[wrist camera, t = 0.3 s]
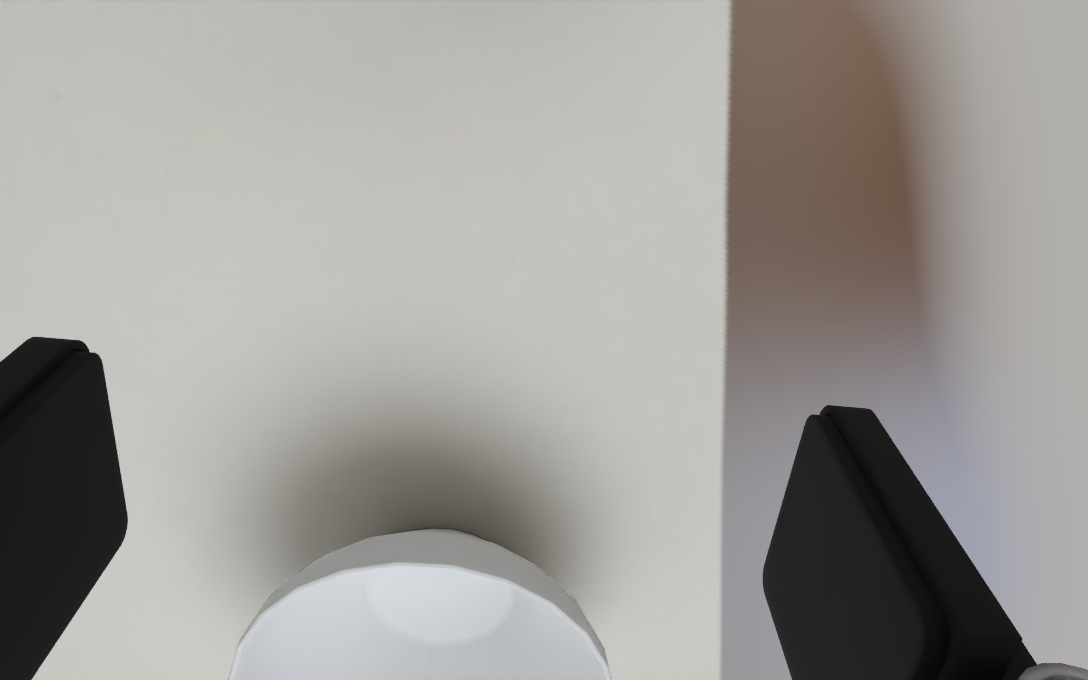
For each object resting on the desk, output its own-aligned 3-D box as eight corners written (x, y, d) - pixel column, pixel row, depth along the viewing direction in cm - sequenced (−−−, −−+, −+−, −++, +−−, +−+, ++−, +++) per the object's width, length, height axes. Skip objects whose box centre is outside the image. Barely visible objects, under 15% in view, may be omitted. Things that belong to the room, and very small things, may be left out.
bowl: (266, 676, 43) (220, 804, 37) (288, 424, 36) (235, 530, 30) (564, 719, 45) (568, 849, 39) (642, 486, 38) (661, 599, 32)
